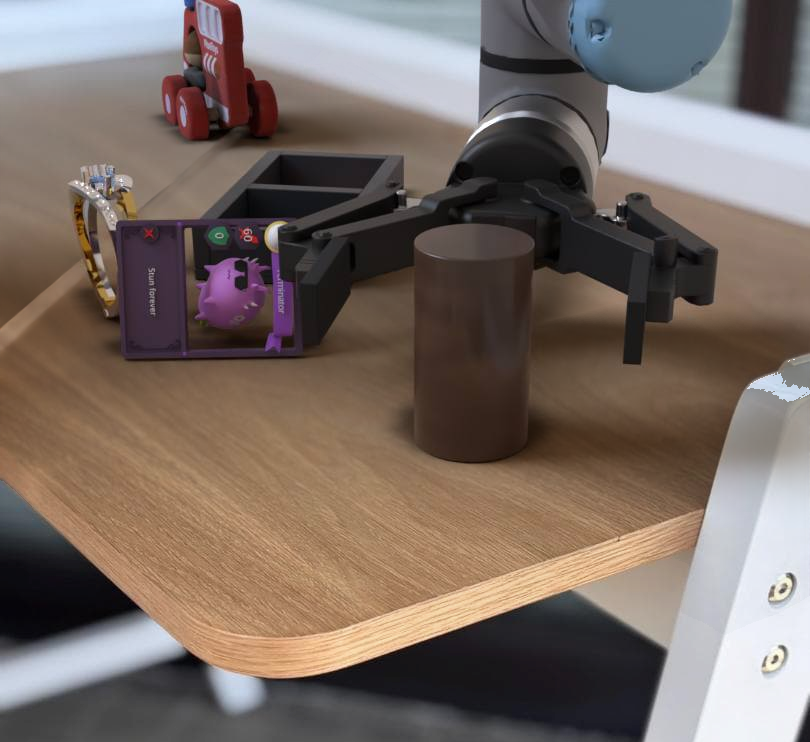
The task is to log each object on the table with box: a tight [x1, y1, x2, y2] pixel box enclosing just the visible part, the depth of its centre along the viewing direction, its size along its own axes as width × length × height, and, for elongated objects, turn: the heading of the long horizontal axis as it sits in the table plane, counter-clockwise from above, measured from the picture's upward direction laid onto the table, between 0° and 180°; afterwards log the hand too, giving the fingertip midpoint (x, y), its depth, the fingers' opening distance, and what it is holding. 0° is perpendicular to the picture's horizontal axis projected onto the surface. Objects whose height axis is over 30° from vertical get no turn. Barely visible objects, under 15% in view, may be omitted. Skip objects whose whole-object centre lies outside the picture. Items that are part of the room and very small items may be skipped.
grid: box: [191, 149, 405, 287], centre depth 91 cm, size 9×17×3 cm, turn 170°
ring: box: [66, 163, 139, 319], centre depth 78 cm, size 7×3×8 cm, turn 24°
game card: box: [116, 218, 304, 360], centre depth 76 cm, size 7×5×9 cm
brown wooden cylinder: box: [413, 224, 535, 463], centre depth 64 cm, size 5×5×9 cm
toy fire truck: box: [161, 0, 279, 141], centre depth 113 cm, size 7×12×10 cm, turn 22°
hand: (468, 324), depth 62 cm, fingers open, 13 cm apart
